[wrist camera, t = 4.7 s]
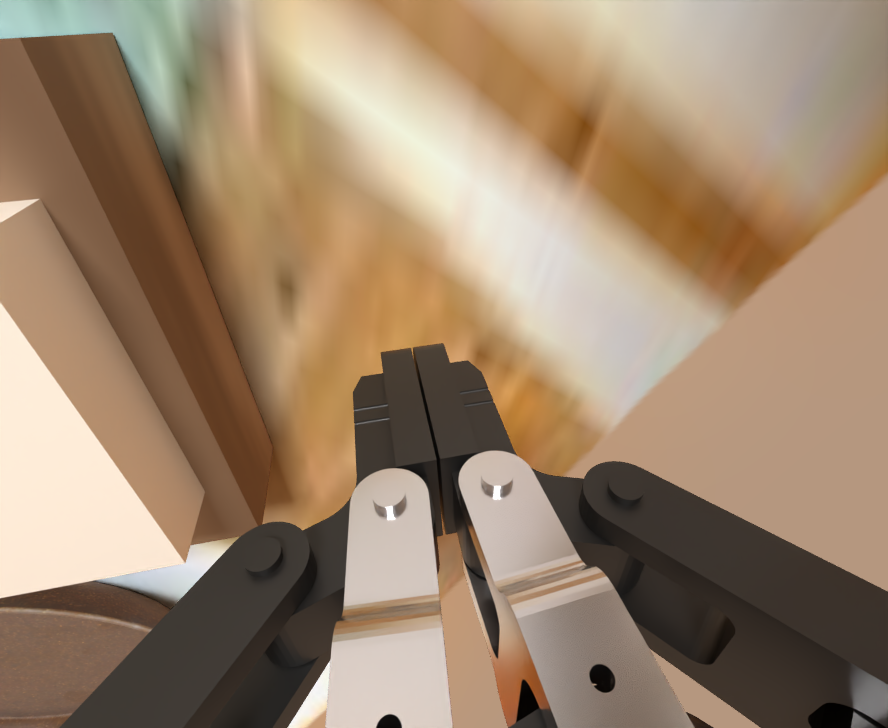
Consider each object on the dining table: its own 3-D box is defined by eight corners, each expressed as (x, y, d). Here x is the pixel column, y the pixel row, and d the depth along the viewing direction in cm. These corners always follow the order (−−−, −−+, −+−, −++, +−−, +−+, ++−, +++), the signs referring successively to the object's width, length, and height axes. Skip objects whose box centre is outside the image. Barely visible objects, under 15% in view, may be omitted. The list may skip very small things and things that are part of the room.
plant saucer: (87, 500, 19) (52, 568, 17) (278, 656, 30) (273, 710, 28) (-316, 626, 19) (-408, 712, 17) (20, 736, 30) (-8, 798, 28)
